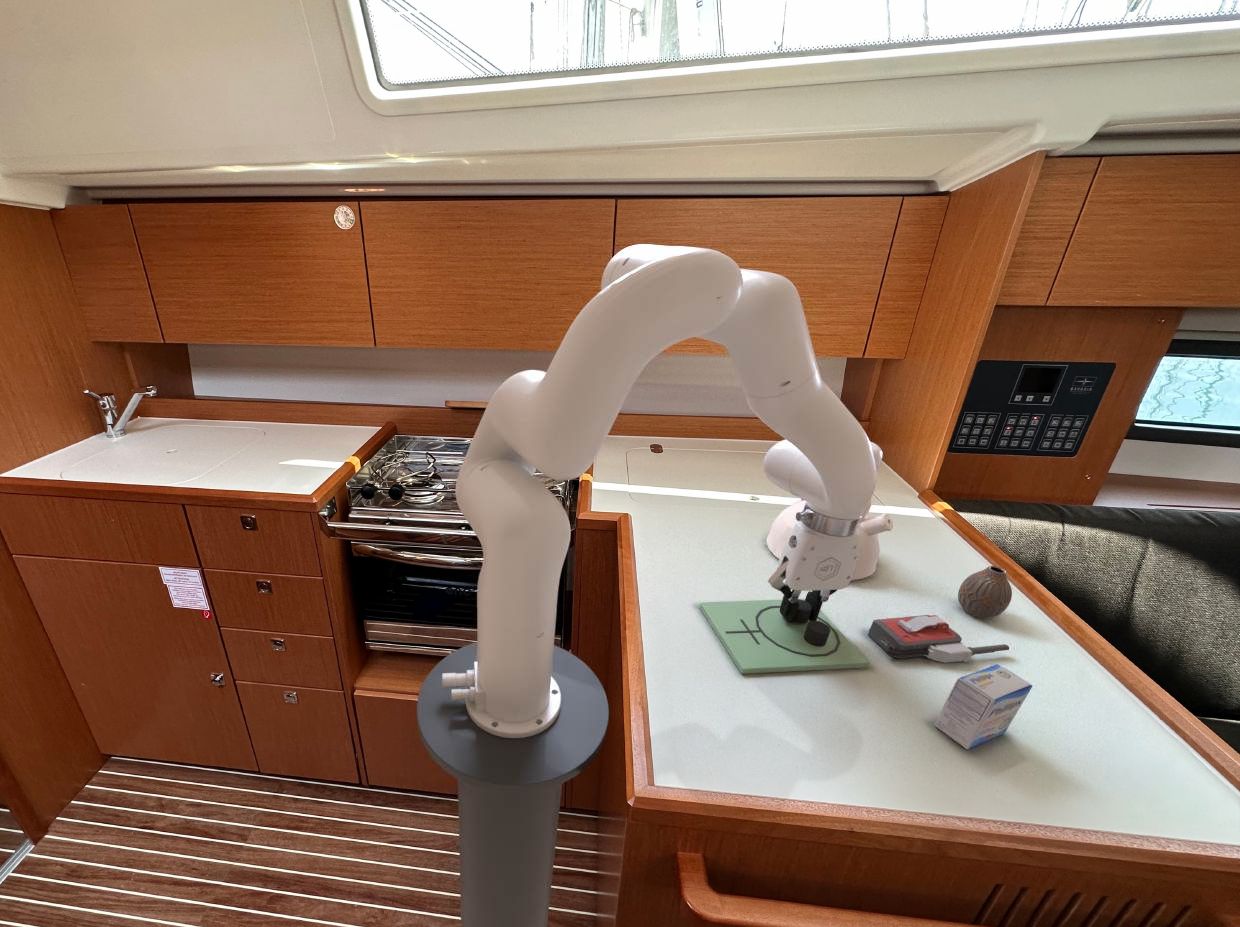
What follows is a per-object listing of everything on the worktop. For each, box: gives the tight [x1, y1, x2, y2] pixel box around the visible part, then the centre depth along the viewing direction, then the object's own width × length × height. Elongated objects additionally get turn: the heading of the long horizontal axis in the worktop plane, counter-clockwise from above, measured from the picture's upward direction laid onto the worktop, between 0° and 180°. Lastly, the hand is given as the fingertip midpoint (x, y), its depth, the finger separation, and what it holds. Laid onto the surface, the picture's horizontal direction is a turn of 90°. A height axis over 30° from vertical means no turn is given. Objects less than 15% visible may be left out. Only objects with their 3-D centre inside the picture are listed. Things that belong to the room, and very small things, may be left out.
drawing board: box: [698, 598, 870, 675], centre depth 90 cm, size 20×16×1 cm
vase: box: [957, 565, 1013, 619], centre depth 96 cm, size 7×7×9 cm
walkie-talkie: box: [867, 614, 1010, 664], centre depth 88 cm, size 9×4×20 cm
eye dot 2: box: [804, 621, 830, 647], centre depth 87 cm, size 3×3×3 cm
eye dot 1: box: [794, 598, 812, 624], centre depth 91 cm, size 3×3×3 cm
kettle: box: [765, 498, 894, 582], centre depth 109 cm, size 20×21×18 cm
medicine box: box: [934, 663, 1033, 750], centre depth 72 cm, size 8×4×9 cm, turn 112°
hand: (797, 616), depth 92 cm, fingers closed on eye dot 1, 3 cm apart
